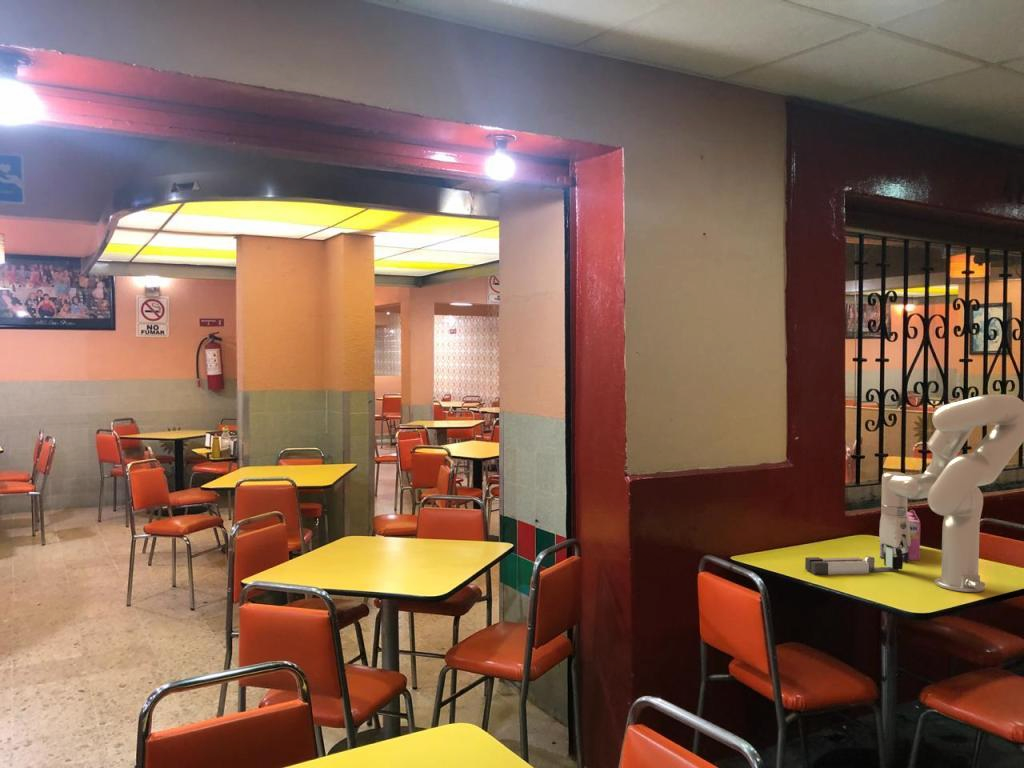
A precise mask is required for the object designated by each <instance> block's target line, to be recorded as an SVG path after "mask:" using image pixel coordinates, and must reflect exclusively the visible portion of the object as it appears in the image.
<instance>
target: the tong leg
mask: <svg viewBox="0 0 1024 768" xmlns="http://www.w3.org/2000/svg"><path fill="white" fill-rule="evenodd" d="M804 560H805V562H804V564H805V566H804V570H806V571H808V572H810V568H811V561H825V562H834V561H864V558H861V557H859V556H858V557H856V556H855V557H825V558H824V557H821V558H820V557H819V556H817V557H815V556H814V557H812V556H811V557H809V556H808V557H805V558H804Z"/></svg>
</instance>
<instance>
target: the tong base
mask: <svg viewBox="0 0 1024 768" xmlns="http://www.w3.org/2000/svg"><path fill="white" fill-rule="evenodd" d="M898 571H899V569H893V568H891V567H889V566H878V567H875V557H874V556H864V560H863V561H834V562H825V561H811V568H810V571H809V572H810V574H812V575H814V576H829V575H831V576H832V575H863V574H864V575H865V574H866V575H867V574H870V573H875V572H898Z"/></svg>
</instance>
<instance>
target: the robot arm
mask: <svg viewBox="0 0 1024 768" xmlns="http://www.w3.org/2000/svg"><path fill="white" fill-rule="evenodd" d="M931 421H932V425H933V428H935V430H934V432H933V433H932V435H931V437H930V438H929V440H927V448H928V450H929V451H930V452H931V453H932V457H931V461H930V463H929V465H928V466H927V468H926V470H924V472H923V473H918V474H912V475H907V474H906V473H903V472H899V471H886V472H884V473H882V475H881V504H880V505H881V506H880V507H881V508H880V509H881V511H880V514H881V515H880V520H879V536H878V537H879V540H878V541H879V543H881V544H882V547H883V552H884V560H883V565H884V567H887V566H886V547H893V551H894V557H892V568H893V569H898V570H903V557H904V554H905V553H906V552H908V551H909V549H908V548H909V547H910V525H909V519H908V517H907V512H908V500H922V499H927V504H928V507H929V509H931V511H932V512H934V513H935V514H936V515H939V516H943V521H942V532H941V533H942V534H941V535H942V536H941V537H942V539H941V577H938V578H936V579H935V584H936V585H937V587H940V588H943V589H947V590H951V591H954V592H964V593H979V592H983V591H984V590H985V587H986V583H985V582H984V581H981V575H979V565H980V561H979V559H980V558H979V557H980V554H979V553H980V528H981V527H980V526H981V525H980V523H981V516H982V511H983V507H984V496H983V493H982V491H981V490H980V488H979V487H982V486H987V485H990V484H992V483H994V482H995V481H996V479H998V477H999V476H1000V474H1001V473H1002V472H1003V470H1004V469H1005V468H1006V466H1007V465H1008V464H1009V461H1011V460H1012V458H1013V456H1014V454H1015V453H1016V452H1017V450H1018V449H1020V446H1021V445H1022V444H1023V443H1024V401H1023V400H1022V399H1020V397H1018V396H1015V395H1012V394H1006V393H1005V394H1004V393H1003V394H999V393H998V394H982V395H978V396H973V397H970V398H966V399H962V400H958V401H955V402H950V403H945V404H943V405H941V406H939V407H938V408H936V410H935V411H933V414H932V418H931ZM992 425H994V427H993V428H992V429H991V430H990V431H989V432H988V433H987V434H985V436H984V437H983V438H982V440H981V442H980V443H979V444H978V446H977V447H976V448H975V449H974V450H973V451H972V452H971V453H965V454H960V455H959V453H960V451H961V449H962V448H963V446H964V445H965V443H966V441H968V439H969V437H970V436H971V434H972V433H973V431H974V430H975V429H976V428H979V427H984V426H992ZM899 545H900V547H899ZM897 549H900V550H899V551H898V552H897Z"/></svg>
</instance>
